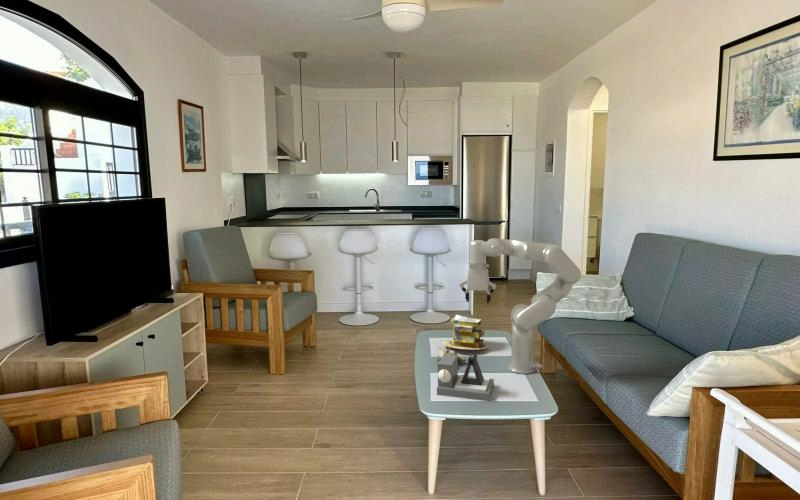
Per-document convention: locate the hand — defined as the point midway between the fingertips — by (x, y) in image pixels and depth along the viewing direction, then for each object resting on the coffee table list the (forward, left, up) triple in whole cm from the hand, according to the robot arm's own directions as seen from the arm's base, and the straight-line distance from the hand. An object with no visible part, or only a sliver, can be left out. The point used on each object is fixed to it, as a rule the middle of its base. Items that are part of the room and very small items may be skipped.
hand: (478, 301), depth 224 cm
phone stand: (-2, +25, -30) cm, 39 cm away
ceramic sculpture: (+15, -3, -34) cm, 37 cm away
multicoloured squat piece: (+12, -28, -34) cm, 45 cm away
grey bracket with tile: (+1, +25, -33) cm, 42 cm away
